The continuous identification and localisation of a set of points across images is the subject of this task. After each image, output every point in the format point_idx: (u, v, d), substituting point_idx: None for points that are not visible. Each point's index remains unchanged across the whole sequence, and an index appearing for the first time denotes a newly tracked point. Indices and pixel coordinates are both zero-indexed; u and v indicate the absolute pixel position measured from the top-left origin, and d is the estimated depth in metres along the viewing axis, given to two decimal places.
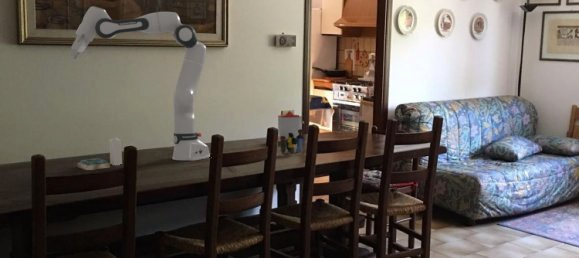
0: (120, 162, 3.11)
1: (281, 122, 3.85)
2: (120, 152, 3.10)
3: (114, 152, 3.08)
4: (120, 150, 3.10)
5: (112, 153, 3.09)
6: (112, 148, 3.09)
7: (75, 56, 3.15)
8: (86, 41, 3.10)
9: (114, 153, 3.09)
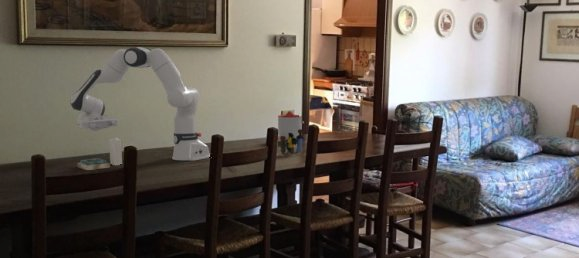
0: (120, 162, 3.11)
1: (281, 122, 3.85)
2: (120, 152, 3.10)
3: (114, 152, 3.08)
4: (120, 150, 3.10)
5: (112, 153, 3.09)
6: (112, 148, 3.09)
7: (110, 123, 3.23)
8: (92, 118, 3.26)
9: (114, 153, 3.09)
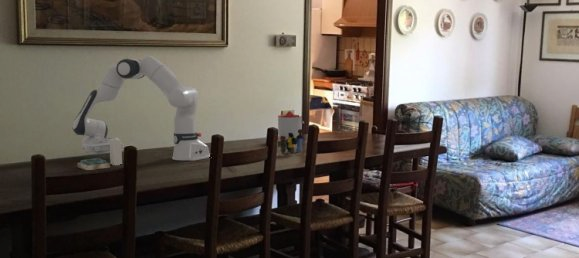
0: (120, 162, 3.11)
1: (281, 122, 3.85)
2: (120, 152, 3.10)
3: (114, 152, 3.08)
4: (120, 150, 3.10)
5: (112, 153, 3.09)
6: (112, 148, 3.09)
7: None
8: (97, 142, 3.25)
9: (114, 153, 3.09)
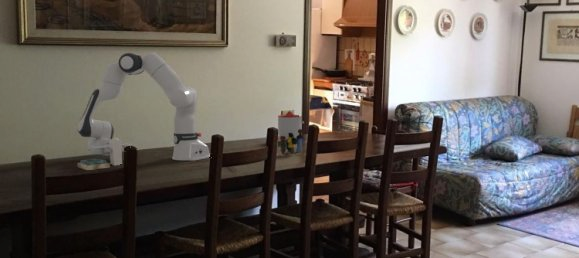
0: (120, 162, 3.11)
1: (281, 122, 3.85)
2: (120, 152, 3.10)
3: (114, 152, 3.08)
4: (120, 150, 3.10)
5: (112, 153, 3.09)
6: (112, 148, 3.09)
7: None
8: (103, 143, 3.17)
9: (114, 153, 3.09)
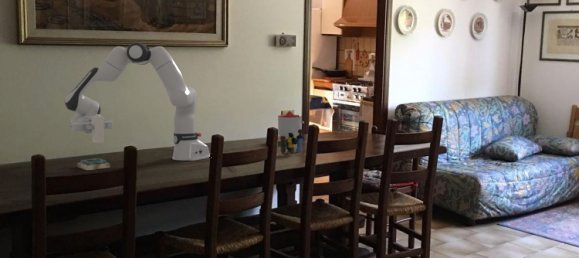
0: (102, 139, 3.04)
1: (281, 122, 3.85)
2: (102, 129, 3.04)
3: (96, 129, 3.02)
4: (102, 127, 3.04)
5: (94, 130, 3.03)
6: (94, 125, 3.02)
7: None
8: (85, 120, 3.11)
9: (96, 130, 3.02)
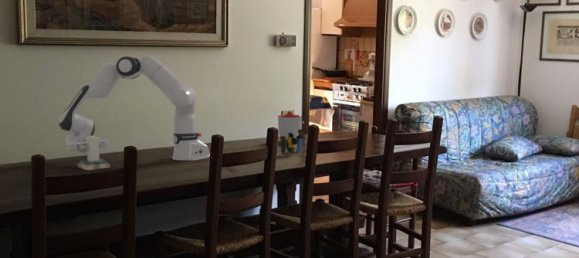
0: None
1: (281, 122, 3.85)
2: (97, 150, 3.03)
3: (91, 151, 3.01)
4: (97, 148, 3.03)
5: (89, 152, 3.01)
6: (89, 146, 3.01)
7: None
8: (80, 140, 3.09)
9: (91, 152, 3.01)
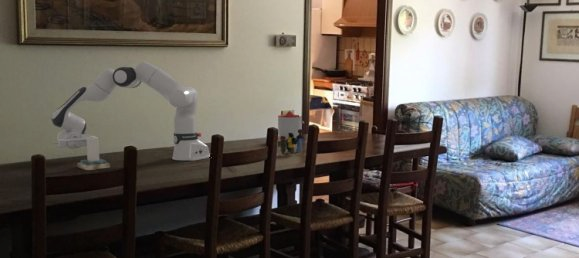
0: None
1: (281, 122, 3.85)
2: (97, 150, 3.03)
3: (91, 151, 3.01)
4: (97, 148, 3.03)
5: (89, 152, 3.01)
6: (89, 146, 3.01)
7: None
8: (71, 137, 3.19)
9: (91, 152, 3.01)
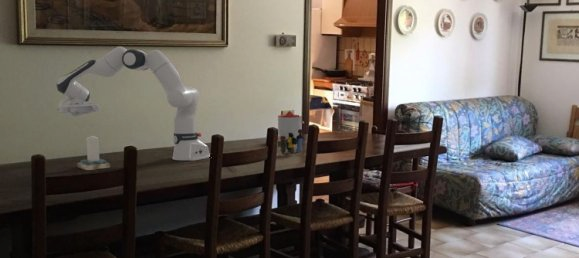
0: None
1: (281, 122, 3.85)
2: (97, 150, 3.03)
3: (91, 151, 3.01)
4: (97, 148, 3.03)
5: (89, 152, 3.01)
6: (89, 146, 3.01)
7: (91, 108, 3.19)
8: (72, 103, 3.22)
9: (91, 152, 3.01)
